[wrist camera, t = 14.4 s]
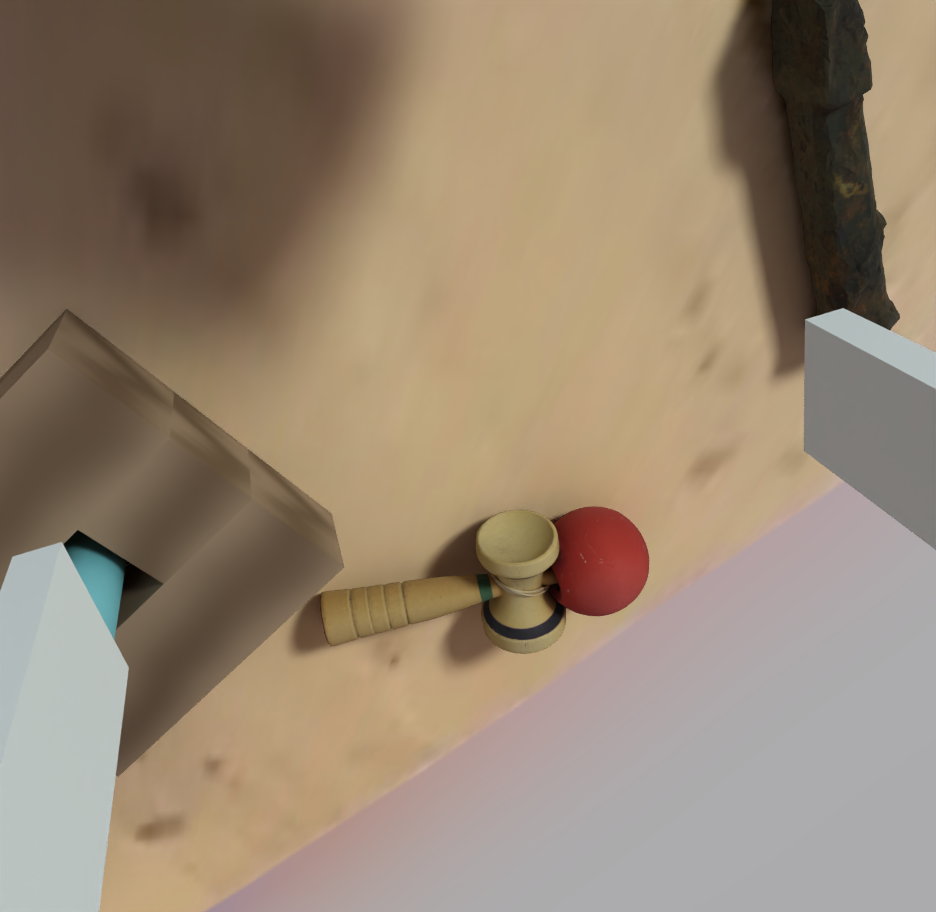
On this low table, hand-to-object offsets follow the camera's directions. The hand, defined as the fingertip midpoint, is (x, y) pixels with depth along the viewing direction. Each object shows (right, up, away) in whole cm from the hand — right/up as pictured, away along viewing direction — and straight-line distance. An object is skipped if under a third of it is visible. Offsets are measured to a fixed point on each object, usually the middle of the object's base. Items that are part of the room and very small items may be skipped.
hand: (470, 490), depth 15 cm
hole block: (-18, -3, +27) cm, 33 cm away
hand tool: (+17, +15, +29) cm, 36 cm away
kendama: (0, -5, +35) cm, 35 cm away
